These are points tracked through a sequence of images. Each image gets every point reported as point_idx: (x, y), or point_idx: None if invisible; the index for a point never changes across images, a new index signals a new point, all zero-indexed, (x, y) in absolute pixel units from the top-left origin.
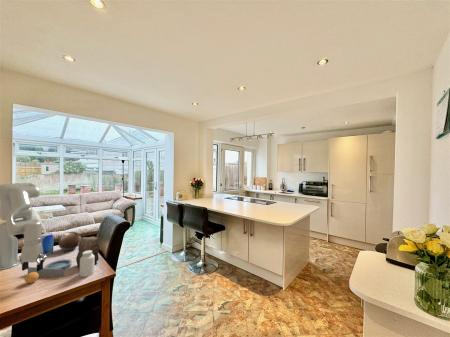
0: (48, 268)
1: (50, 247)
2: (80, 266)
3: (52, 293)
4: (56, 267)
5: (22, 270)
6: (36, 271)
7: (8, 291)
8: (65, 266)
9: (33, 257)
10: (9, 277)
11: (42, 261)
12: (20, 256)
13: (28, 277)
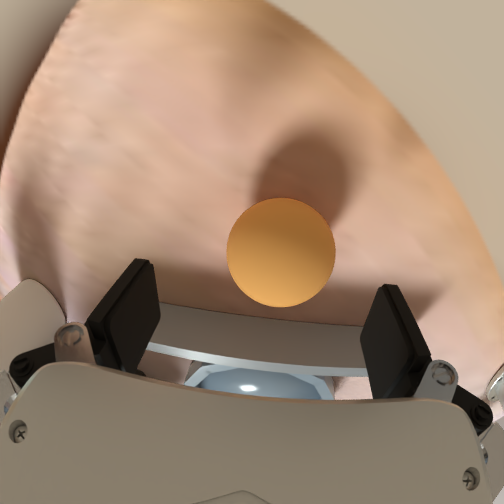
0: (231, 361)
1: None
2: (4, 319)
3: (24, 125)
4: (259, 386)
5: (388, 285)
6: (343, 345)
7: (359, 100)
8: (184, 383)
9: (17, 462)
10: (485, 292)
11: (19, 354)
12: (501, 468)
13: (271, 219)
